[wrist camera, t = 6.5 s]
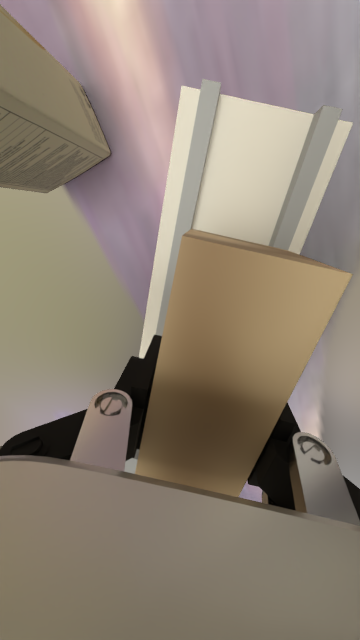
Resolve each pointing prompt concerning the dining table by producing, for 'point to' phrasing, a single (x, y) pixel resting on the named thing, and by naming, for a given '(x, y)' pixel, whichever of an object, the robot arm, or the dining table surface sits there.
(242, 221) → the board
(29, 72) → the skincare box
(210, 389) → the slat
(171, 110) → the dining table surface
